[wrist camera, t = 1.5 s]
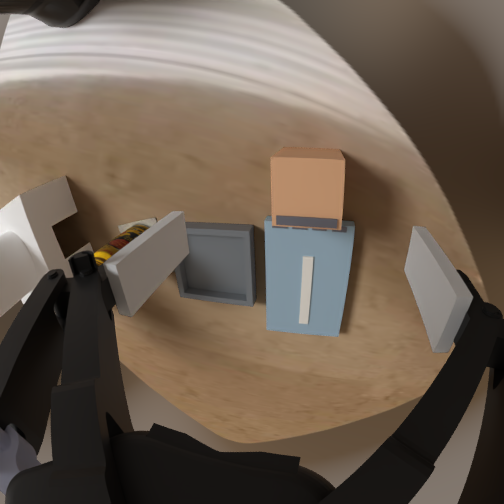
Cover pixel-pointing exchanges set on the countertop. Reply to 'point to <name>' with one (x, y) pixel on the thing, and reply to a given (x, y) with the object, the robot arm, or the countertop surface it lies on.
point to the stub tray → (219, 264)
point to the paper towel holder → (32, 240)
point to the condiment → (123, 239)
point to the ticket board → (307, 277)
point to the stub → (307, 188)
